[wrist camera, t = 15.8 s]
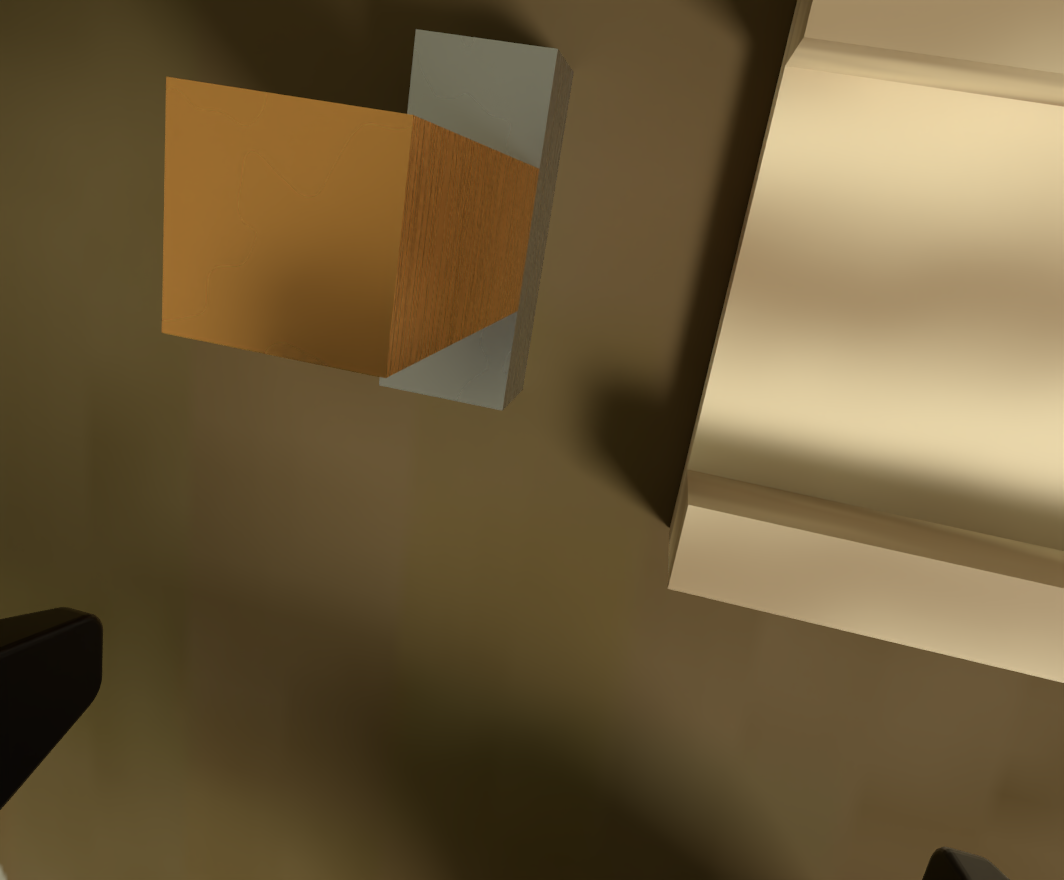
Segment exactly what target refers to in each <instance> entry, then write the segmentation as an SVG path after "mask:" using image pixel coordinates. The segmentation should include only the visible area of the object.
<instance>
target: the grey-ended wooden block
mask: <svg viewBox="0 0 1064 880" xmlns="http://www.w3.org/2000/svg"><path fill="white" fill-rule="evenodd" d="M572 79H573V71H572V69H571V68H570V66H569V65H568V63H567V62H566V60H565V59H564V57H563V56H562V54H561V53H560V51H559V50H558V49H555V48H547V47H540V46H533V45H526V44H519V43H512V42H504V41H497V40H490V39H483V38H476V37H468V36H461V35H454V34H447V33H440V32H433V31H425V30H418V29H416V33H415V42H414V52H413V62H412V71H411V81H410V91H409V100H408V110H407V114H404V113H397V112H391V111H384V110H378V109H371V108H365V107H359V106H352V105H346V104H339V103H333V102H326V101H320V100H313V99H307V98H300V97H294V96H288V95H281V94H275V93H268V92H262V91H255V90H249V89H242V88H236V87H229V86H223V85H217V84H210V83H204V82H197V81H191V80H184V79H178V78H171V77H166V123H165V182H164V241H163V300H162V333H166V334H171V335H176V336H180V337H185V338H190V339H195V340H200V341H205V342H210V343H215V344H220V345H225V346H230V347H234V348H239V349H244V350H249V351H254V352H259V353H264V354H269V355H274V356H279V357H284V358H288V359H293V360H298V361H303V362H308V363H313V364H318V365H323V366H328V367H333V368H338V369H342V370H347V371H352V372H357V373H362V374H367V375H372V376H377V377H380V381H379V385H381V386H385V387H390V388H395V389H400V390H405V391H410V392H415V393H420V394H424V395H429V396H434V397H439V398H444V399H449V400H454V401H459V402H464V403H468V404H473V405H478V406H483V407H488V408H493V409H498V410H503V409H504V408H505V407H506V406H507V405H508V404H509V403H510V402H511V401H512V400H513V399H514V398H515V397H516V396H517V395H518V394H519V393H520V392H521V391H522V390H523V384H524V378H525V371H526V365H527V359H528V353H529V347H530V340H531V334H532V328H533V322H534V315H535V309H536V303H537V297H538V290H539V284H540V278H541V272H542V266H543V259H544V253H545V247H546V241H547V234H548V228H549V222H550V216H551V209H552V203H553V197H554V191H555V185H556V178H557V172H558V166H559V160H560V153H561V147H562V141H563V135H564V128H565V122H566V116H567V110H568V103H569V97H570V91H571V85H572Z"/></svg>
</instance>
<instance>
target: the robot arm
mask: <svg viewBox="0 0 1064 880" xmlns="http://www.w3.org/2000/svg"><path fill="white" fill-rule="evenodd" d="M102 649H103V627H102V623H101V621H100V619H99V618H98V617H97V616H95V615H94V614H90V613H86V612H83V611H79V610H75V609H72V608H66V607H60V608H54V609H49V610H44V611H39V612H34V613H29V614H24V615H19V616H14V617H9V618H5V619H0V810H1V808H2V807H3V806H4V805H5V804H6V803H7V802H8V801H9V800H10V798H11V797H12V796H13V795H14V794H15V793H16V791H17V790H18V789H19V788H20V787H21V786H22V784H23V783H24V782H25V781H26V780H27V779H28V777H29V776H30V775H31V774H32V773H33V771H34V770H35V769H36V768H37V767H38V766H39V764H40V763H41V762H42V761H43V760H44V759H45V757H46V756H47V755H48V754H49V753H50V751H51V750H52V749H53V748H54V747H55V746H56V744H57V743H58V742H59V741H60V740H61V739H62V737H63V736H64V735H65V734H66V733H67V732H68V730H69V729H70V728H71V727H72V726H73V724H74V723H75V722H76V721H77V720H78V719H79V717H80V716H81V715H82V714H83V713H84V712H85V710H86V709H87V708H88V707H89V706H90V704H91V703H92V702H93V700H94V699H95V697H96V695H97V693H98V691H99V689H100V685H101V681H102ZM922 880H1009V879H1008V878H1007V877H1006V876H1005V875H1004V874H1003V873H1002V872H1001V871H1000V870H999V869H998V868H997V867H995V866H994V865H993V864H992V863H991V862H990V861H989V860H987V859H986V858H984V857H981V856H978V855H975V854H971V853H967V852H964V851H960V850H956V849H953V848H949V847H941V848H939V849H937V850H936V851H935V852H934V853H933V855H932V856H931V858H930V861H929V863H928V866H927V868H926V871H925V874H924V876H923V879H922Z"/></svg>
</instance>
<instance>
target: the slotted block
mask: <svg viewBox="0 0 1064 880" xmlns="http://www.w3.org/2000/svg"><path fill="white" fill-rule="evenodd" d="M668 589H672V590H676V591H680V592H684V593H689V594H693V595H697V596H701V597H705V598H710V599H714V600H718V601H722V602H726V603H731V604H735V605H739V606H743V607H747V608H752V609H756V610H760V611H764V612H768V613H773V614H777V615H781V616H785V617H789V618H794V619H798V620H802V621H806V622H810V623H815V624H819V625H823V626H827V627H831V628H836V629H840V630H844V631H848V632H852V633H857V634H861V635H865V636H869V637H873V638H878V639H882V640H886V641H890V642H894V643H899V644H903V645H907V646H911V647H915V648H920V649H924V650H928V651H932V652H936V653H941V654H945V655H949V656H953V657H957V658H962V659H966V660H970V661H974V662H978V663H983V664H987V665H991V666H995V667H999V668H1004V669H1008V670H1012V671H1016V672H1020V673H1025V674H1029V675H1033V676H1037V677H1041V678H1046V679H1050V680H1054V681H1058V682H1062V683H1064V0H797V3H796V7H795V11H794V16H793V20H792V24H791V28H790V32H789V36H788V40H787V45H786V49H785V53H784V57H783V61H782V65H781V69H780V74H779V78H778V82H777V86H776V90H775V94H774V98H773V103H772V107H771V111H770V115H769V119H768V123H767V127H766V132H765V136H764V140H763V144H762V148H761V152H760V156H759V161H758V165H757V169H756V173H755V177H754V181H753V185H752V190H751V194H750V198H749V202H748V206H747V210H746V214H745V219H744V223H743V227H742V231H741V235H740V239H739V243H738V248H737V252H736V256H735V260H734V264H733V268H732V272H731V277H730V281H729V285H728V289H727V293H726V297H725V301H724V306H723V310H722V314H721V318H720V322H719V326H718V330H717V335H716V339H715V343H714V347H713V351H712V355H711V359H710V364H709V368H708V372H707V376H706V380H705V384H704V388H703V393H702V397H701V401H700V405H699V409H698V413H697V417H696V422H695V426H694V430H693V434H692V438H691V442H690V446H689V451H688V455H687V459H686V463H685V467H684V471H683V475H682V480H681V484H680V488H679V492H678V496H677V500H676V504H675V509H674V513H673V517H672V521H671V525H670V531H669V563H668Z"/></svg>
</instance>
